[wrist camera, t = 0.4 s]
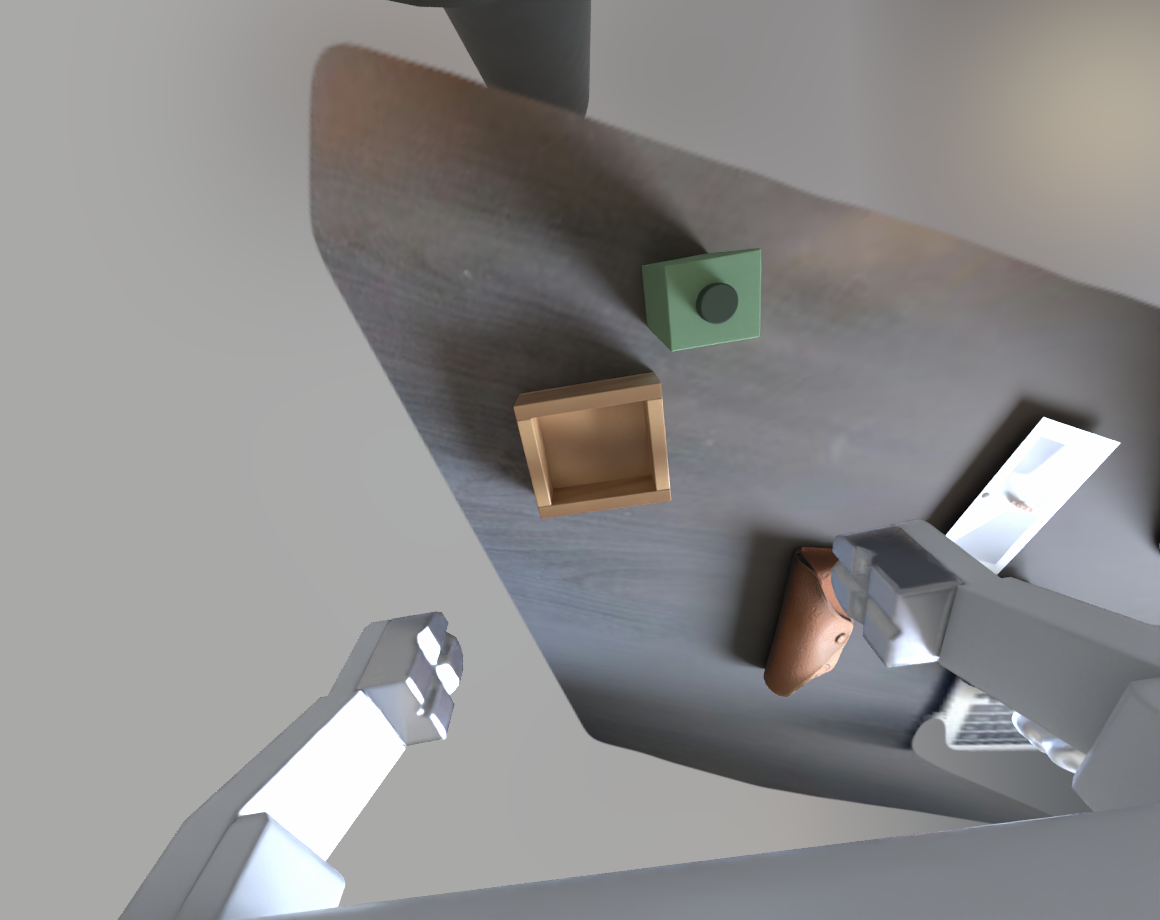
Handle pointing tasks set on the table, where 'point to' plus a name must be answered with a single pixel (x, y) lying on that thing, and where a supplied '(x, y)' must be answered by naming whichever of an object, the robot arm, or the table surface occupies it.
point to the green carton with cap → (704, 298)
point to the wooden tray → (595, 445)
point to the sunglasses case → (807, 624)
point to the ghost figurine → (1049, 743)
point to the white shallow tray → (1028, 491)
